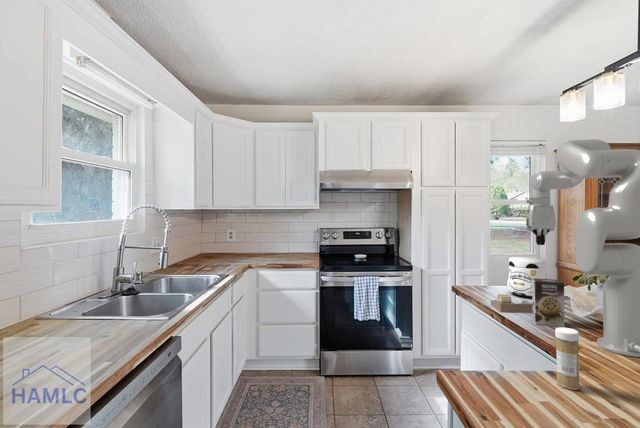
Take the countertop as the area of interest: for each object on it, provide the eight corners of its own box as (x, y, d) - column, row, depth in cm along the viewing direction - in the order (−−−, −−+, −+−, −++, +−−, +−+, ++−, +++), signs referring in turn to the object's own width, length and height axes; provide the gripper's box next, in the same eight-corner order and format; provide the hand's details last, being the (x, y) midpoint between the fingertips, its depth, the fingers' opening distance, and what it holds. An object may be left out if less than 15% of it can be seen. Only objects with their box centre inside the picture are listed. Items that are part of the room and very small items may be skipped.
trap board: (539, 312, 135) (539, 304, 135) (500, 312, 137) (500, 303, 137) (526, 305, 146) (526, 297, 146) (490, 304, 148) (490, 297, 148)
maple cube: (511, 306, 138) (511, 296, 138) (501, 306, 139) (501, 296, 139) (507, 303, 142) (507, 294, 142) (497, 303, 143) (497, 294, 143)
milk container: (510, 298, 158) (510, 260, 157) (504, 290, 174) (503, 256, 174) (553, 301, 152) (553, 262, 151) (543, 292, 168) (542, 257, 168)
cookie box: (535, 324, 122) (534, 280, 121) (532, 319, 127) (531, 277, 127) (565, 327, 118) (564, 282, 118) (560, 322, 124) (560, 279, 124)
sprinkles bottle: (582, 386, 79) (581, 330, 79) (576, 393, 76) (574, 334, 76) (560, 379, 83) (559, 325, 83) (553, 384, 80) (552, 329, 80)
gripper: (525, 202, 140) (526, 245, 141) (563, 201, 139) (564, 245, 139) (517, 203, 148) (518, 244, 148) (553, 202, 146) (554, 243, 146)
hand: (540, 244), depth 143 cm, fingers closed
